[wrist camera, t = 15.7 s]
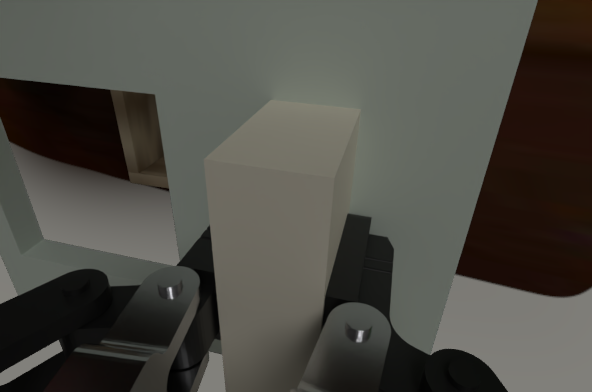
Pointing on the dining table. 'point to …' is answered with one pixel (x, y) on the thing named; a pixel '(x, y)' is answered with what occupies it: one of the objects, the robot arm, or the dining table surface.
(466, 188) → the lid
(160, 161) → the wooden frame
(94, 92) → the dining table surface
